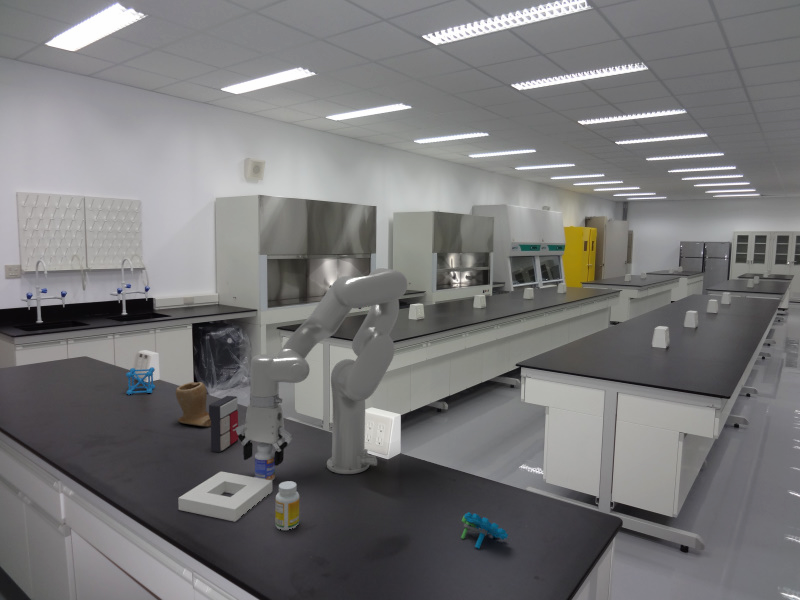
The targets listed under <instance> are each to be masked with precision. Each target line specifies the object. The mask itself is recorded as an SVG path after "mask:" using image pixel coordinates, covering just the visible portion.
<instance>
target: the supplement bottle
mask: <svg viewBox="0 0 800 600" xmlns="http://www.w3.org/2000/svg"><path fill="white" fill-rule="evenodd" d="M297 488H298V487H297V483H296V481H295V482H294V481H291V480H290V481H288V480H287V481H282V482H280V483H279V484H278V492H277V494H276V495H275V508H274V509H275V512H274V513H275V516H274V517H275V519H274V520H275V521H274V523H275V528H276V529H278V530H280V529H281V531H290V530H289V529H291V530H293V529H296V528H297V527H298V526H297V525H299V524H300V494H299V492H298V491H297ZM296 526H297V527H296ZM292 528H293V529H292Z"/></svg>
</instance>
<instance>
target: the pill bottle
mask: <svg viewBox="0 0 800 600" xmlns="http://www.w3.org/2000/svg"><path fill="white" fill-rule="evenodd" d="M273 447H274V446H273V444H268V443H262V442H259V443H257V446H256V449H257V452H255V454H254V477H255V478H260V479H266V480H272V481H273V480H275V478H276V466H275V465H274V461H275V451H274V450H273Z"/></svg>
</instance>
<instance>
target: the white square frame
mask: <svg viewBox="0 0 800 600" xmlns="http://www.w3.org/2000/svg"><path fill="white" fill-rule="evenodd" d="M272 492H273V480H266V479H260V478H255V476H248V475H242V474H239V473H231V472H225V471H219V472H217V473H216V474H214V475H213V476H211V477H209V478H208V479H206V480H205V481H202V483H200V484H198V485H197V486H195V487H193V488H192V489H190V490H188V491H187V492H185V493H184V494H183V495H181V496H179V497H178V499H177V500H178V503H177V504H178V510H179V511H184V512H187V513H188V512H189V513H192V514H198V515H201V516H207V517H212V518H217V519H221V520H225V521H230V522H234V523H235V522H237V521H238V520H239V519H240V518H242V517H243V516H244V515H245V514H247V513H248V512H249V511H250V510H252V509H253V508H254V507H255V506H256V505H258V504H259V503H260V502H262V501H263V500H264V499H265V498H267V495H268V494H269V495H270V494H271V493H272ZM224 493H228V494H231V496H225V495H223V494H224ZM269 495H268V496H269ZM264 497H265V498H264ZM263 498H264V499H263ZM262 499H263V500H262ZM259 501H260V502H259ZM258 502H259V503H258ZM257 503H258V504H257ZM254 505H255V506H254ZM253 506H254V507H253ZM252 507H253V508H252ZM249 509H250V510H249ZM248 510H249V511H248ZM247 511H248V512H247ZM243 514H244V515H243ZM242 515H243V516H242ZM241 516H242V517H241Z"/></svg>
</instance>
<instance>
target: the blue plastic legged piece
mask: <svg viewBox="0 0 800 600" xmlns="http://www.w3.org/2000/svg"><path fill="white" fill-rule="evenodd" d="M461 523H462V524H463V528H464V529H463V532H462V534H461V536H460V538H461V539H462V540H465V538H466V535H467V533H468V531H471V532H473V533H476V534H478V538H477V540H476V542H475V545H474V548H476V549H478V550H480V548H481V546H482V543H483V540H484V538H485V537H486V536H487V535H489V534H490V535H491V536H492V537H493V538H496V539H498V538H499V539H500V540H502V541H503V540H506V539H508V537H509V534H508V533H507V531H506V530H505V529H503V528H501V527H500V528H499V526H500V525H499V524H497V523H496V522H492V523H491V522H490V520H489V518H487V517H481V516H480V515H479V514H477V513H471V512H467V513H464V515H463V517H462V518H461Z"/></svg>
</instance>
